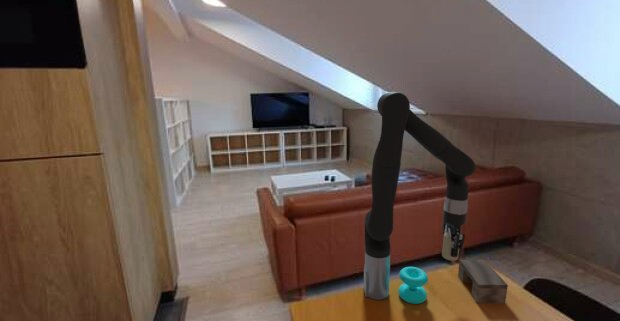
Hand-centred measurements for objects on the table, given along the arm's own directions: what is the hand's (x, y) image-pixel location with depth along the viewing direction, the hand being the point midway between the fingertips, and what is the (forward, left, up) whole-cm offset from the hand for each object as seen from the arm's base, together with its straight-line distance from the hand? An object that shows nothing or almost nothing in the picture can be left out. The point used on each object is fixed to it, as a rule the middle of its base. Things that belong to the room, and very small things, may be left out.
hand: (450, 251), depth 112 cm
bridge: (+13, +2, -17) cm, 22 cm away
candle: (0, 0, -2) cm, 2 cm away
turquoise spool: (-14, -3, -17) cm, 22 cm away
